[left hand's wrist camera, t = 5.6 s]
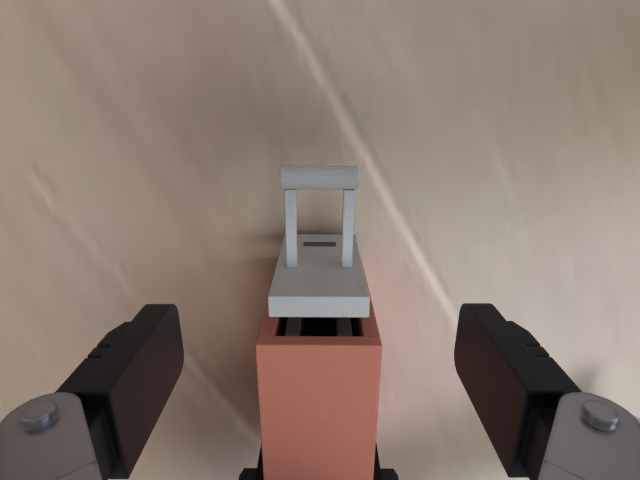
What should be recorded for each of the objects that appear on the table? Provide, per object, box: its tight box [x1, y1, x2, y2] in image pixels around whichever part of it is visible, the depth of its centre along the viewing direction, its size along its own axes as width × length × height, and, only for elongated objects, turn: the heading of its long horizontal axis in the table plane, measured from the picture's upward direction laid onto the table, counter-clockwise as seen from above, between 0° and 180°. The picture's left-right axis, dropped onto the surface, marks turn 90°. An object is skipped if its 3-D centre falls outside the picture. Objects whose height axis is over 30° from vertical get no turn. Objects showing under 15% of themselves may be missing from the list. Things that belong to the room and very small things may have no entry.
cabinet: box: [255, 260, 382, 480], centre depth 28 cm, size 17×6×11 cm, turn 0°
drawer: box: [268, 166, 370, 336], centre depth 26 cm, size 22×5×10 cm, turn 0°
